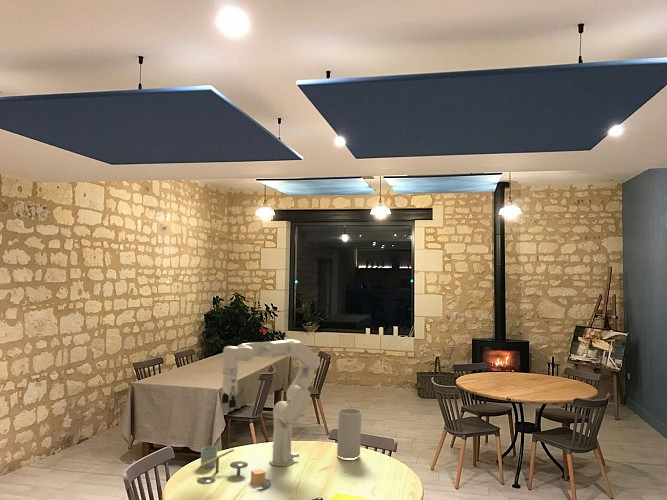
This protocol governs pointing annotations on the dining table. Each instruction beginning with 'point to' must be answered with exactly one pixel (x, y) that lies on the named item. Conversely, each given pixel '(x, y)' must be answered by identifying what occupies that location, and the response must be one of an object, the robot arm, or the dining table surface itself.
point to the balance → (209, 479)
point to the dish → (265, 484)
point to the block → (258, 476)
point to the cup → (208, 456)
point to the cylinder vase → (349, 433)
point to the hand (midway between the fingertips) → (228, 405)
